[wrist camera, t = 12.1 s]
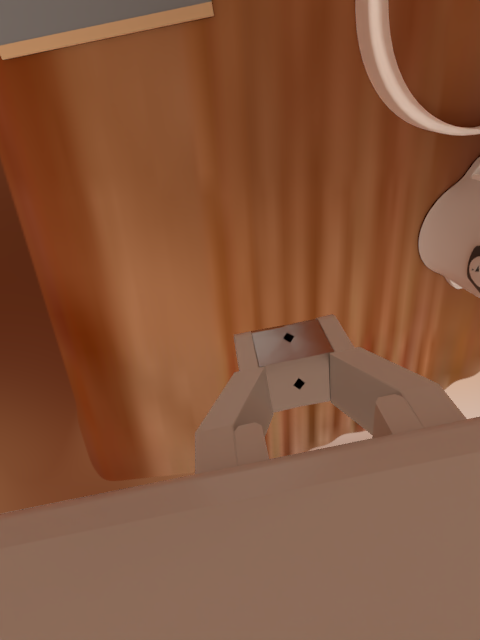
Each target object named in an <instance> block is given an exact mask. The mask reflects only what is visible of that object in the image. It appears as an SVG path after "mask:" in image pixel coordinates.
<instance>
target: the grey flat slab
mask: <svg viewBox="0 0 480 640" xmlns="http://www.w3.org/2000/svg"><path fill="white" fill-rule="evenodd" d="M213 16H214V13H213V7H212V1H211V0H0V56H1V58H2V60H7V59H12V58H17V57H21V56H26V55H31V54H36V53H41V52H45V51H50V50H55V49H60V48H65V47H69V46H74V45H79V44H84V43H89V42H93V41H98V40H103V39H108V38H113V37H117V36H122V35H127V34H132V33H137V32H141V31H146V30H151V29H156V28H161V27H165V26H170V25H175V24H180V23H185V22H189V21H194V20H199V19H204V18H209V17H213Z"/></svg>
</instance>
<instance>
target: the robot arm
mask: <svg viewBox="0 0 480 640" xmlns="http://www.w3.org/2000/svg"><path fill="white" fill-rule="evenodd" d="M419 253H420V256H421V259H422V261H423V262H424V264H425V265H426V266H427V267H428V268H429V269H431V270H432V271H434V272H436V273H439V274H441V275H443V276H444V277H445V278H446V280H447V281H448V283H449V284H450V285H451V286H453V287H454V288H456V289H461V288H464V289H465V290H467V291H469V292H470V293H472V294H474V295H475V296H477V297H479V298H480V157H479V158H478V159H477V160H476V161H475V162H474V163H473V165H472V166H471V167H470V169H469V170H468V171H467V173H466V174H465V176H464V177H463V178H462V179H461V180H460V181H459V182H457V183H456V184H455V185H454V186H452V187H451V188H450V189H449V190H448V191H446V192H445V193H444V194H443V195H442V196H441V197H440V198H439V199H438V201H437V202H436V203H435V204H434V205H433V207H432V208H431V210H430V211H429V213H428V215H427V216H426V218H425V220H424V222H423V225H422V228H421V231H420V235H419ZM234 341H235V348H236V354H237V360H238V366H239V372H235V373H234V374H233V376H232V377H231V379H230V380H229V382H228V383H227V385H226V386H225V388H224V389H223V391H222V393H221V394H220V396H219V397H218V399H217V400H216V402H215V403H214V405H213V406H212V408H211V409H210V411H209V413H208V414H207V416H206V417H205V419H204V420H203V422H202V423H201V425H200V426H199V428H198V429H197V431H196V433H195V474H194V475H190V476H185V477H180V478H175V479H170V480H165V481H160V482H156V483H150V484H145V485H140V486H136V487H130V488H125V489H121V490H116V491H111V492H106V493H101V494H96V495H91V496H86V497H81V498H76V499H71V500H66V501H61V502H56V503H51V504H46V505H41V506H36V507H32V508H27V509H22V510H17V511H12V512H8V513H2V514H0V640H480V417H476V418H471V419H466V418H465V416H464V415H463V414H462V413H461V411H460V410H459V409H458V408H457V406H456V405H455V404H454V403H453V401H452V400H451V399H450V398H449V396H448V395H447V394H446V393H445V391H444V390H443V389H442V388H441V386H440V385H439V384H437V383H435V382H433V381H431V380H429V379H427V378H425V377H422V376H420V375H418V374H416V373H414V372H412V371H410V370H407V369H405V368H403V367H401V366H399V365H397V364H395V363H393V362H390V361H388V360H386V359H384V358H382V357H380V356H378V355H375V354H373V353H371V352H369V351H367V350H365V349H363V348H361V347H357V348H354V346H353V345H352V343H351V341H350V340H349V338H348V336H347V335H346V333H345V331H344V330H343V328H342V326H341V325H340V323H339V322H338V320H337V318H336V317H335V315H333V314H332V315H327V316H323V317H319V318H316V319H312V320H308V321H303V322H298V323H293V324H289V325H282V326H277V327H271V328H266V329H261V330H255V331H251V332H245V333H240V334H235V335H234ZM328 401H331V403H332V404H334V405H335V406H336V407H337V408H339V409H340V410H341V411H343V412H344V413H345V414H346V415H348V416H349V417H350V418H351V419H353V420H354V421H355V422H356V423H358V424H359V425H360V426H362V427H363V428H364V429H365V430H367V431H368V432H369V433H370V434H372V435H373V437H372V439H367V440H363V441H357V442H352V443H348V444H343V445H338V446H333V447H328V448H323V449H318V450H314V451H308V452H303V453H298V454H293V455H288V456H283V457H278V458H273V459H269V457H268V452H267V448H266V443H265V438H264V437H265V435H266V432H267V429H268V427H269V424H270V422H271V419H272V416H273V413H274V412H278V411H282V410H287V409H291V408H295V407H300V406H305V405H310V404H316V403H322V402H328Z"/></svg>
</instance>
